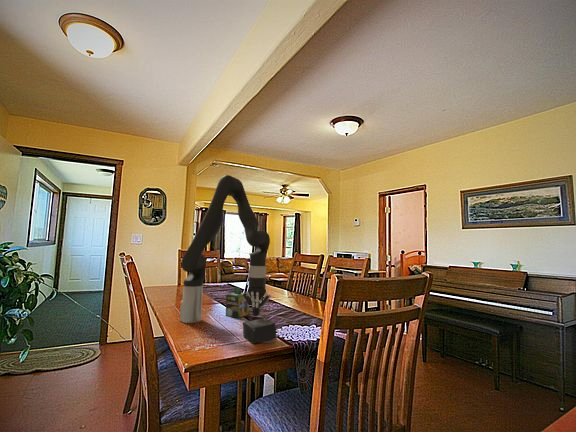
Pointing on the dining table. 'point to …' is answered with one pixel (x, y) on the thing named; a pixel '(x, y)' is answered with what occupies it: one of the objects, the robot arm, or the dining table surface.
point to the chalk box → (236, 304)
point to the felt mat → (270, 339)
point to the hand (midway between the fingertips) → (256, 315)
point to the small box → (259, 330)
